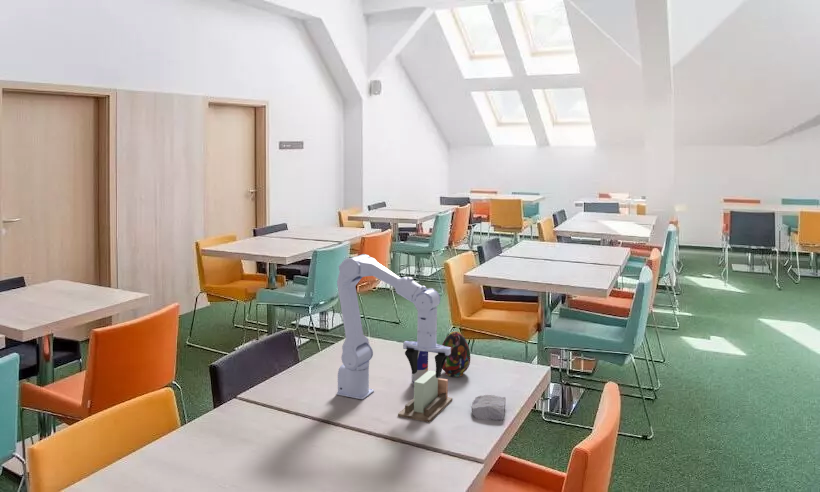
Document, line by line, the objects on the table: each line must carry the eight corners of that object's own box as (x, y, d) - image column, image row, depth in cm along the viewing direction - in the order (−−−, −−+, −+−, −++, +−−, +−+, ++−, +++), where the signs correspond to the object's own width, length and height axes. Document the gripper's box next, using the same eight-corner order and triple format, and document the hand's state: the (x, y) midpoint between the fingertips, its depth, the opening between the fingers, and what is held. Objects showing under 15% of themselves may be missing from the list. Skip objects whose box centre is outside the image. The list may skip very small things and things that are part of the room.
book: (413, 411, 189) (414, 381, 188) (428, 398, 199) (428, 370, 198) (423, 413, 188) (423, 383, 187) (437, 399, 198) (438, 371, 197)
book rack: (397, 416, 188) (398, 393, 187) (422, 394, 204) (422, 374, 203) (429, 422, 184) (430, 399, 183) (452, 400, 200) (452, 379, 199)
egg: (435, 377, 219) (436, 334, 217) (443, 367, 230) (444, 326, 227) (466, 380, 216) (467, 337, 214) (472, 370, 226) (473, 329, 224)
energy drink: (427, 386, 211) (428, 350, 209) (411, 386, 211) (411, 350, 210) (427, 380, 217) (428, 345, 215) (411, 380, 217) (412, 345, 215)
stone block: (471, 425, 187) (506, 421, 185) (469, 409, 187) (503, 405, 185) (475, 410, 199) (507, 406, 197) (472, 395, 198) (505, 391, 196)
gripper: (398, 330, 189) (398, 375, 192) (444, 337, 184) (444, 383, 186) (408, 325, 196) (408, 368, 198) (453, 331, 190) (452, 375, 192)
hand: (426, 374), depth 192 cm, fingers open, 7 cm apart
